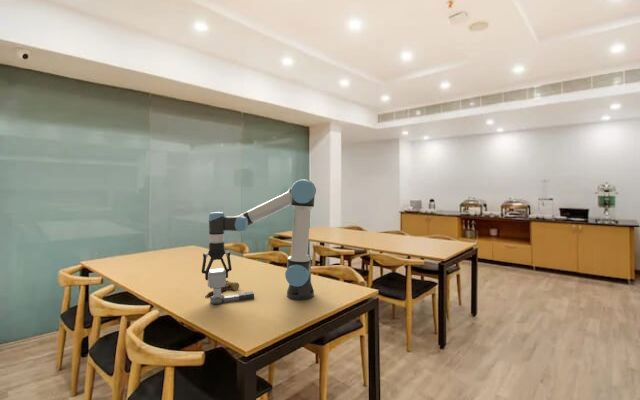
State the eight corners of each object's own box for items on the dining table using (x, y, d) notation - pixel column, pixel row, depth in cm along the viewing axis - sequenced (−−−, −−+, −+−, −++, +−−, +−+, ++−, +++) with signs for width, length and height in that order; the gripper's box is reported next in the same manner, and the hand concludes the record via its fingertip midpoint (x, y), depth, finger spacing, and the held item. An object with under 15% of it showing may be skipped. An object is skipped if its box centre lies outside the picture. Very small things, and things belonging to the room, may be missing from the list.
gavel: (211, 294, 173) (198, 291, 178) (212, 302, 174) (199, 299, 179) (239, 281, 191) (226, 279, 196) (239, 289, 192) (227, 286, 197)
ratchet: (251, 295, 180) (251, 281, 180) (254, 299, 174) (254, 285, 173) (209, 301, 171) (209, 286, 170) (211, 305, 164) (210, 290, 164)
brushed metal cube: (223, 282, 174) (223, 267, 173) (225, 286, 167) (225, 271, 166) (208, 284, 170) (208, 269, 170) (210, 288, 164) (209, 272, 163)
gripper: (235, 239, 175) (235, 280, 176) (195, 241, 167) (195, 285, 168) (237, 241, 168) (237, 284, 169) (196, 244, 160) (196, 289, 161)
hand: (216, 285), depth 169 cm, fingers closed on brushed metal cube, 7 cm apart
